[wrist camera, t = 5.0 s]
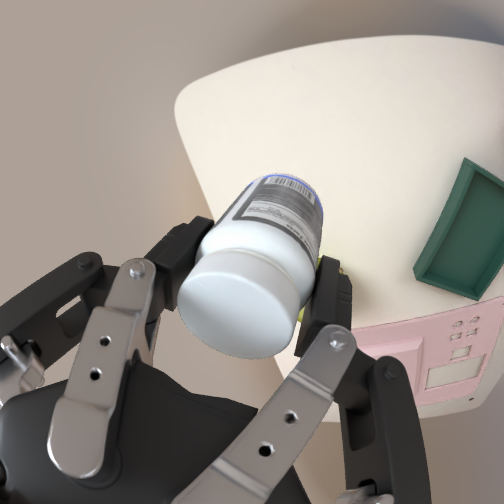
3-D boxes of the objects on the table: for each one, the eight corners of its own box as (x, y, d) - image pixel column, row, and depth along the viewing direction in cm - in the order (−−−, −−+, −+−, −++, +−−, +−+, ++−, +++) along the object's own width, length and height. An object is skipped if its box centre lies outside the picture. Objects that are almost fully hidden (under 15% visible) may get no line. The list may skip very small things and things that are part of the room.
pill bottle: (267, 256, 17) (217, 369, 10) (226, 192, 15) (141, 286, 9) (337, 231, 15) (327, 358, 8) (299, 156, 13) (253, 241, 6)
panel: (344, 412, 57) (343, 420, 55) (313, 334, 43) (311, 345, 41) (473, 391, 42) (474, 398, 40) (507, 294, 28) (512, 304, 26)
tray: (464, 157, 22) (473, 163, 20) (524, 197, 20) (534, 205, 18) (412, 268, 31) (416, 280, 29) (473, 290, 30) (477, 301, 28)
